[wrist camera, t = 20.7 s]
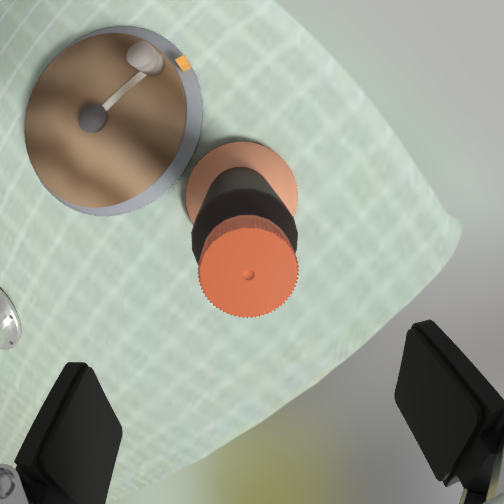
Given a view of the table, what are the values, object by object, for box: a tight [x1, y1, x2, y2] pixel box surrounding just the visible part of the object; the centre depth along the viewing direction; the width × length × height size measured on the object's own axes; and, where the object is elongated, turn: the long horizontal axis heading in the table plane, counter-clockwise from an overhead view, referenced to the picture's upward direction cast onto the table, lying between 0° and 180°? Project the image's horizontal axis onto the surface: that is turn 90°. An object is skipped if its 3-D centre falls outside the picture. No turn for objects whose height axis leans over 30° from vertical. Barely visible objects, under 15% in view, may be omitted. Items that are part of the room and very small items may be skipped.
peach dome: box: [186, 142, 298, 225], centre depth 35 cm, size 12×12×1 cm
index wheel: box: [25, 33, 187, 208], centre depth 27 cm, size 19×19×7 cm
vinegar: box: [191, 167, 299, 318], centre depth 25 cm, size 7×7×20 cm
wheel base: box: [37, 26, 203, 216], centre depth 30 cm, size 22×22×3 cm
